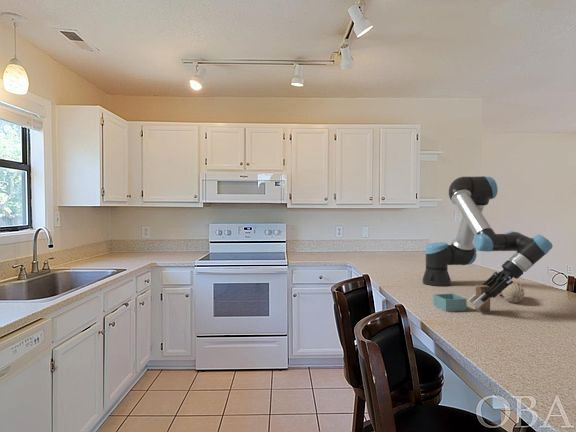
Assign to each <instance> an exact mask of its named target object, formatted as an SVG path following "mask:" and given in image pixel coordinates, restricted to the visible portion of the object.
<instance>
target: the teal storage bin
mask: <svg viewBox="0 0 576 432" xmlns="http://www.w3.org/2000/svg"><path fill="white" fill-rule="evenodd" d="M432 297H433V298H432V299H433V300H432V301H433V302H432V304H433V305H434V306H433V307H435V306H436V308H437V307H438V308H437V309H439V308H440V310H441V309H442V310H441V311H443V310H444V312H445V311H449V312H463V311H467V303H468V302H467V300H468V299H467V298H465V297H462V296H460V295H458V294H455V293H437V294H433V295H432Z"/></svg>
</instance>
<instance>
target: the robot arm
mask: <svg viewBox="0 0 576 432" xmlns="http://www.w3.org/2000/svg"><path fill="white" fill-rule="evenodd" d="M498 190H499V189H498V185H497V182H496V180H495V178H493V177H491V176H485V175H482V176H460V177H457V178H456V179H454V180H453V181H452V182H451V184H450V185H449V188H448V197H449V199H450V201H451V203H452V204H453V205H456V206H457V209H458V211H459V212H460V213H461V215H462V216H461V220H460V223H459V228H458V231H457V234H456V238H453V239H452V242H451V244H448V243H447V242H441V241H440V242H431V243H429V244H427V245H426V246H425V253H424V254H425V269H424V273H423V277H422V283H423V284H424V285H427V286H433V287H434V286H435V287H448V286H451V285H452V280H451V277H450V274H449V270H448V266H458V265H459V266H467V265H468V266H469V265H472V264H473V263H474V262H475V261H476V259H477V251H479V252H487V253H488V252H515V253H513V254H512V256H511V257H510V258H509V259H508V260H506V261H505V262H504V263H502V265H501V268H502V270H500V271H499V272H497V271H495V272H494V273H493V274H492V275H491V276H490V277H489V278H488V279H487V280H485V281H484V283H482V284H481V285H486V286H489V287H490V289H489V290H488V291H485V293H483V294H482V295H481V296H480V297H479V298H478V299H477V300H475V299H476V293H475V294H474V295H473V296H471V297H470V298H469V299H468V302H470V303H471V304H472V305H474V307H475V306H476V307H477V308H479V307H480V306H481V305H482V304H484V303H485V302H486V301H487V300H488V299H489V298H490V299H492V298H493V299H494V298H496V297H497V296H498V295H500V293H501V292H502V291H503V290H504V289H505V288H506V287H508V286H509V285H510V284H512V283H513V282H514V281H513V279H516V280H518V279H519V278H520V277H521V276H523V275H524V273H526V272H527V271H528V270H530V269H531V268H532V267H534V265H535V264H536V263H538V262H539V260H541V259H542V258H543V257H544V256H545V255H547V254H548V253H549V252H550V251H551V250H552V249H553V244H552V242H551V241H550V240H549V239H547V237H545V236H543V235H541V234H535V235H534V236H532V238H531V237H529V236H527V235H524V234H522V233H520V232H518V231H514V230H513V231H512V230H511V231H508V232H506V233H496V232H495V231H494V230H493V228H492V227H491V224H490V223H489V222H488V221H487V219H486V218H485V215H483V211H484V208H485V207H486V206H487V205H489V202H490V200H492V199H495V198H497V195H498Z"/></svg>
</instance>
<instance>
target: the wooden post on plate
mask: <svg viewBox="0 0 576 432" xmlns="http://www.w3.org/2000/svg"><path fill="white" fill-rule="evenodd" d="M489 289H490V287H489V286H486V285H482V284H480V285H479V284H478V285H475V294H476V299H475V300H477V299H478V298H479V297H480V296H481V295H482V294H483V293H485V291H488V290H489ZM474 307H475V309H474V312H476V313H478V314H481V315H486V314H492V311H491V298H489V299H488V300H487V301H486V302H485V303H484V304H482V305H481V306H480V307H479V308H477V307H476V306H475V305H474Z"/></svg>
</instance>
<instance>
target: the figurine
mask: <svg viewBox="0 0 576 432" xmlns="http://www.w3.org/2000/svg"><path fill="white" fill-rule="evenodd" d="M518 283H519V284H518ZM518 283H517V282H514V281H513V283H512V284H510V285H509V286H508V287H506V288H505V289H504V290H503V291H502V292H501V293H499V294H498V295H499V297H501V298H502V297H503V298H504V299H505V300H506V301H508V302H510V303H514V304H515V303H519V302H521V301H522V300H523V299H524V296H525V288H523V287H522V282H521V281H519V282H518Z"/></svg>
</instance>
